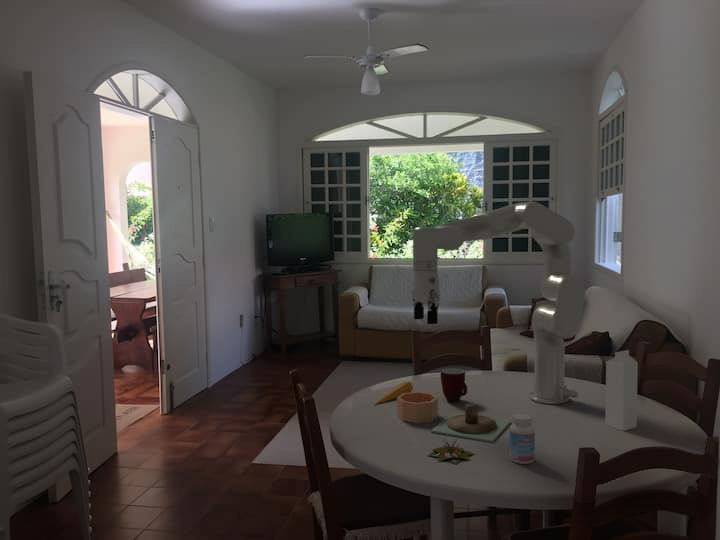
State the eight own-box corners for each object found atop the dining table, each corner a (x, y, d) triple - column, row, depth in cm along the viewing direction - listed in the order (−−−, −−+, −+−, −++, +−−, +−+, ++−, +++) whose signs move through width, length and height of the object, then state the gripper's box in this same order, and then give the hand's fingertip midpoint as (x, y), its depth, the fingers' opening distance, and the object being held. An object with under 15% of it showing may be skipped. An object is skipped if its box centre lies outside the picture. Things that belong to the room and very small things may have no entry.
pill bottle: (521, 466, 146) (521, 421, 145) (504, 458, 151) (504, 414, 150) (540, 461, 148) (540, 417, 148) (522, 453, 154) (522, 410, 153)
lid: (502, 421, 176) (502, 401, 176) (487, 437, 164) (487, 415, 164) (457, 415, 183) (456, 396, 183) (440, 429, 171) (439, 408, 171)
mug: (476, 402, 198) (475, 372, 197) (459, 407, 193) (459, 377, 192) (451, 395, 206) (451, 367, 205) (435, 400, 201) (435, 371, 200)
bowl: (442, 413, 187) (442, 395, 186) (427, 425, 176) (427, 405, 176) (408, 408, 192) (408, 390, 192) (392, 419, 182) (392, 400, 182)
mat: (510, 422, 177) (510, 420, 177) (492, 442, 162) (492, 440, 162) (453, 414, 186) (453, 412, 186) (430, 432, 170) (430, 430, 170)
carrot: (407, 393, 212) (402, 381, 213) (416, 390, 209) (411, 378, 210) (371, 413, 198) (366, 400, 198) (380, 410, 195) (375, 397, 195)
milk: (636, 427, 171) (638, 352, 169) (622, 431, 168) (624, 354, 167) (618, 421, 177) (620, 348, 175) (604, 425, 174) (606, 350, 172)
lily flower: (483, 455, 154) (483, 438, 154) (458, 470, 145) (458, 452, 145) (444, 444, 162) (444, 428, 162) (418, 458, 153) (418, 440, 153)
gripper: (449, 268, 178) (449, 324, 179) (424, 264, 194) (424, 316, 196) (426, 269, 176) (426, 326, 177) (403, 265, 192) (403, 318, 193)
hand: (425, 321), depth 186 cm, fingers open, 9 cm apart
